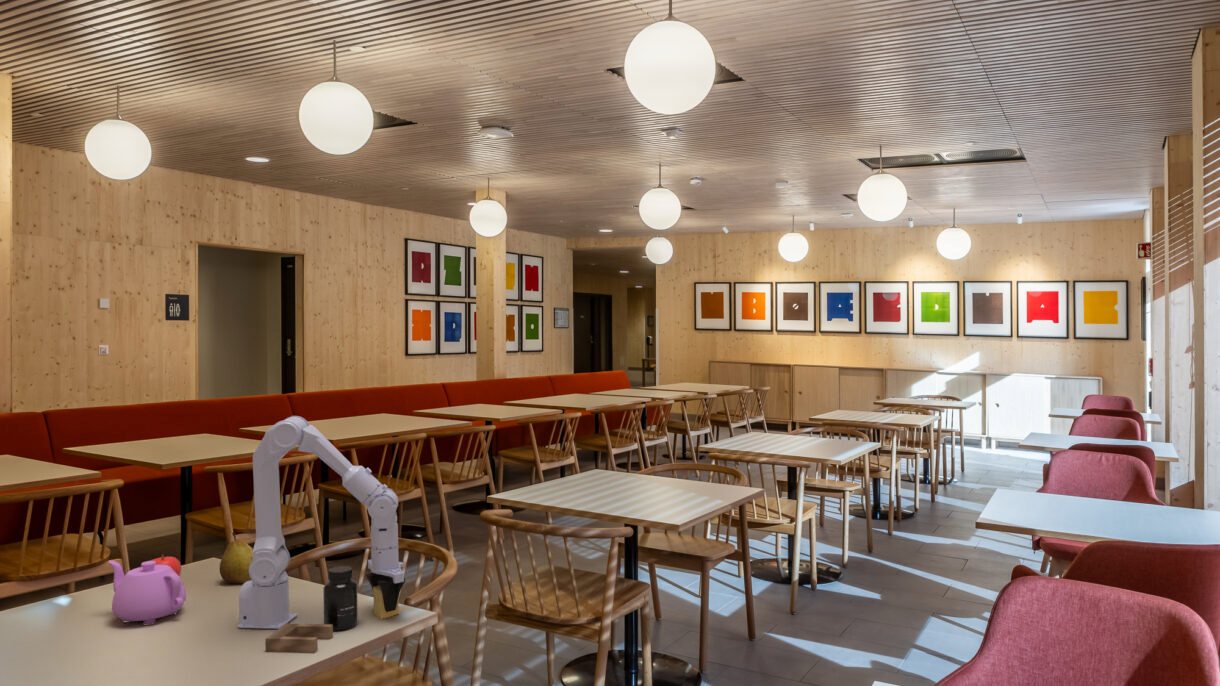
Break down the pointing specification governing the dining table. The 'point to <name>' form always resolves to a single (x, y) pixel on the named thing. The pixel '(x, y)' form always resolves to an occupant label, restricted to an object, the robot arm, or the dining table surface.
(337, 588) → the supplement bottle
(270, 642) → the wooden u-shaped bracket
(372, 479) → the robot arm
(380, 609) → the block
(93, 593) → the dining table surface
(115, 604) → the teapot
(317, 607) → the dining table surface
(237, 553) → the fruit
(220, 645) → the dining table surface
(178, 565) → the apple
